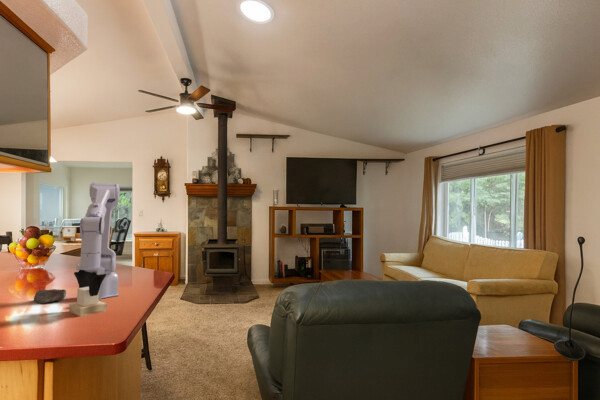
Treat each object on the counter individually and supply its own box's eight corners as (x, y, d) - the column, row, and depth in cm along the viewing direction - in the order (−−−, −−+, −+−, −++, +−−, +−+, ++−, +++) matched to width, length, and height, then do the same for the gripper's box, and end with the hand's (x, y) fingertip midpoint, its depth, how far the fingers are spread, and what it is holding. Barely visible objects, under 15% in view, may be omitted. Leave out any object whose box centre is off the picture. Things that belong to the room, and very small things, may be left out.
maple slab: (94, 308, 120) (95, 299, 120) (106, 312, 115) (107, 303, 115) (69, 313, 113) (69, 303, 113) (80, 318, 109) (80, 308, 109)
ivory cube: (91, 300, 117) (91, 285, 117) (98, 303, 115) (98, 287, 115) (76, 303, 113) (77, 288, 114) (83, 306, 111) (84, 290, 111)
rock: (67, 297, 133) (68, 286, 133) (56, 304, 123) (57, 292, 123) (40, 298, 130) (41, 287, 131) (27, 305, 120) (27, 293, 120)
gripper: (67, 251, 116) (65, 293, 115) (88, 255, 108) (86, 299, 107) (89, 250, 122) (87, 289, 121) (111, 253, 114) (109, 295, 113)
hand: (88, 294), depth 115 cm, fingers open, 6 cm apart
